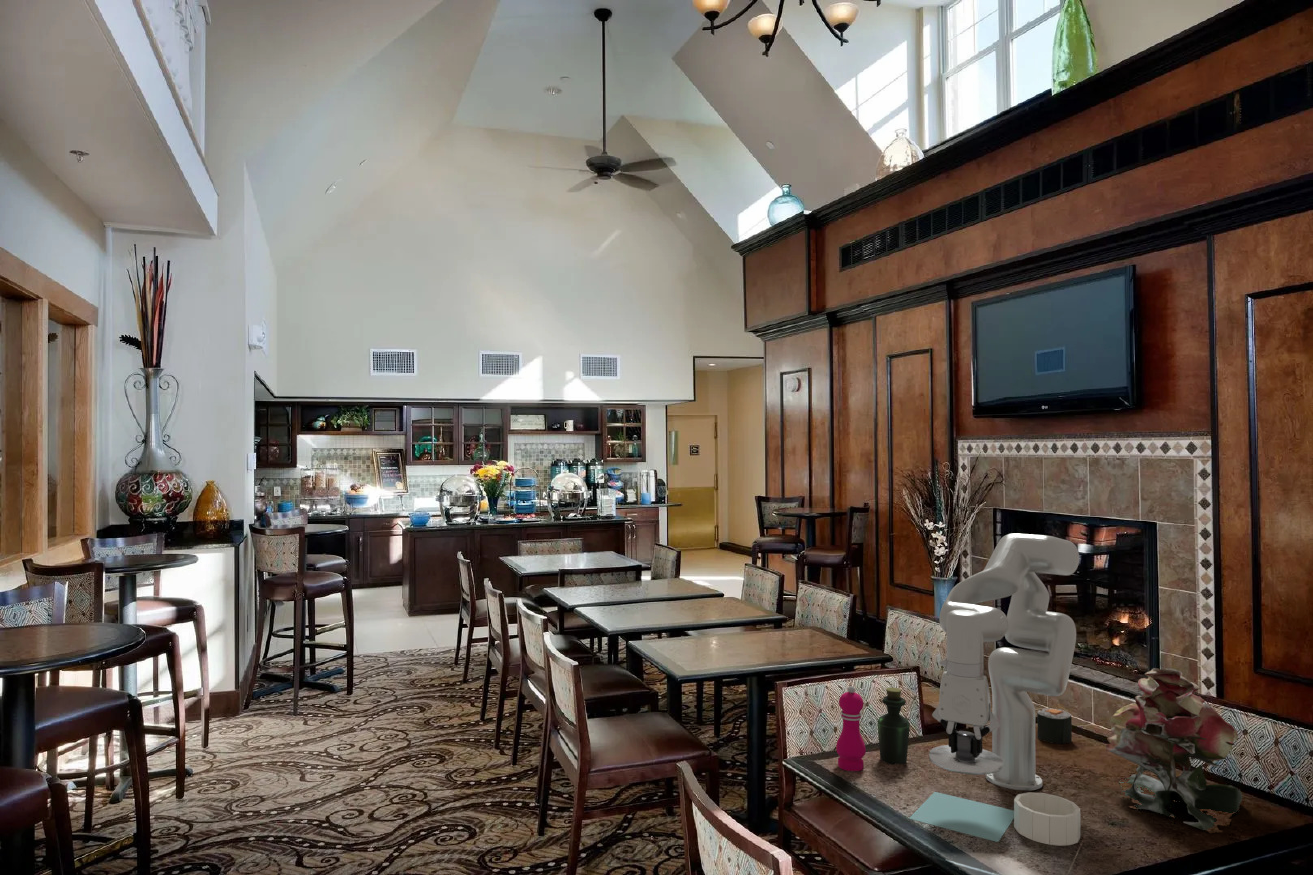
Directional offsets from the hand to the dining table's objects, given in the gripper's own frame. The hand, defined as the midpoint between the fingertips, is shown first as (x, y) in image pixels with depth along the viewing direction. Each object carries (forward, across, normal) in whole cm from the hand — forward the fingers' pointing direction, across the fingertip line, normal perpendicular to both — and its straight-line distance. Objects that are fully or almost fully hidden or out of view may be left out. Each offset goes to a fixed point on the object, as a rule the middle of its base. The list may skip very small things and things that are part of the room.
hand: (965, 752), depth 180 cm
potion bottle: (+14, -24, +23) cm, 36 cm away
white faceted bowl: (+14, +16, +1) cm, 21 cm away
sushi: (+15, +6, +67) cm, 69 cm away
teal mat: (+14, 0, -1) cm, 14 cm away
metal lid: (+2, 0, 0) cm, 2 cm away
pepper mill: (+14, -31, +12) cm, 36 cm away
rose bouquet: (+15, +35, +37) cm, 53 cm away
